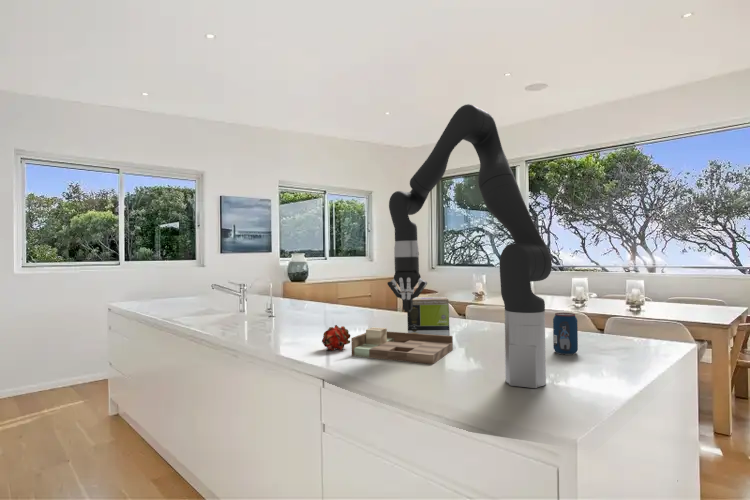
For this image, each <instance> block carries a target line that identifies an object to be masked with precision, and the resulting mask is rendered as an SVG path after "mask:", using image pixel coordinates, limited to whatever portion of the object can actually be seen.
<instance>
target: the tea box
mask: <svg viewBox="0 0 750 500" xmlns="http://www.w3.org/2000/svg"><path fill="white" fill-rule="evenodd" d="M449 303H450V302H449V299H448V297H447V296H430V297H429V296H424V297H423V296H422V297H420V296H418V297H416V298H414V299H413V309H412V310H411V312H406V314H407V317H406V318H407V333H417V334H432V335H446V336H451V335H450V332H451V331H450V307H449V306H450V304H449Z"/></svg>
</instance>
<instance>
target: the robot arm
mask: <svg viewBox="0 0 750 500" xmlns="http://www.w3.org/2000/svg"><path fill="white" fill-rule="evenodd" d="M462 141H466V142H468V143H470V144H472V146H473V148H474V150H475V152H476V155H477V157H478V160H479V169H478V170H479V171H478V179H477V182H478V189H479V192H480V193H481V197H482V199H483V202H484V204H485V206H486V209H488V211H489V212H490V213H491V214H492V215H493V217H495V218H496V220H497V221H498V222H500V224H502V225H503V227H504V228H505V229H506V230H507V231H508V233H509V234H510V235H511V237H512V239H513V242H514V243H511V244H508V245H507V246H505V247H504V248H503V250H502V252H501V254H500V258H499V278H500V293H501V298H502V300H503V301H502V302H503V304H504V358H505V359H504V364H505V366H504V367H505V369H504V370H505V372H504V373H505V382H506V383H507V384H508V385H509V386H512V387H523V388H529V389H530V388H531V389H538V388H539V387H543V386H545V385H547V370H546V369H547V364H546V360H547V359H546V303H545V300H544V298H542V297H541V296H538V295H537V294H535V293H534V292H533V290H532V285H531V282H532V283H533V282H540V281H544V280H546V279H547V278H549V276H550V274H551V272H552V267H553V266H552V263H553V262H552V257H551V256H552V255H551V254H550V251H549V249H548V247H547V245H546V243H545V242H544V240H543V238H542V236H541V234H540V233H539V231H538V228H537V226H536V224H535V223H534V221H533V219H532V217H531V213H530V211H529V210H528V208H527V205H526V203H525V200H524V198H523V196H522V192H521V189H520V187H519V184H518V182H517V180H516V178H515V175H514V172H513V171H512V168H511V165H510V164H509V161H508V158H507V156H506V154H505V152H504V151H505V150H504V149H503V146H502V141H501V138H500V136H499V131H498V127H497V123H496V121H495V119H494V117H493V116H492V114H490V113H489V112H487V111H486V110H484V109H482V108H480V107H477V106H475V105H474V104H470V103H468V104H463V105H462V106H460V107H459V108H458V109H457V110H456V111H455V113H454V114H453V115H452V117H451V118H450V120H449V121H448V123H447V125H446V127H445V128H444V130H443V131H442V134H441V135H440V137H439V138H438V139H437V141H436V143H435V145H434V147H433V149H432V151H431V153H430V154H429V155H428V156H427V158H426V159H425V161H424V162H423V163H422V164H421V166H420V167H419V168H418V169H417V171H416V172H415V173H414V174H413V176H411V178H410V180H409V186H410V188H411V190H410V191H402V190H398V191H395V192H393V193H392V194H391V196H390V197H389V201H388V209H389V213H390V217H391V221H392V224H393V227H394V228H393V229H394V247H393V248H394V251H393V252H394V255H393V256H394V275H393V279H391V280H390V281H388V282H386V283H387V286H388V287H389V288H390V290H391V291H392V293H393V294H394V295H395V297H397V299H398V298H399V299H401V300H402V310H403V311H404V312H405V313H407V312H411V310H412V309H413V299H414V298H416V297H420V295H421V293H422V292H423V290H424V289H425V288H426V286H427V285H428V282H427V281H426V280H424V279H422V278H421V274H420V257H419V256H420V253H419V242H418V226H417V224H416V223H415V222H413V221H412V220H411V219H410V216H413V215H415V214H417V213H419V212H420V211H421V210H422V208H423V206H424V204H425V203H426V200H427V199H428V197H429V194H430V192H431V191H432V190H433V189H434V188H435V187H436V186H437V185H438V183H439V182H441V180H442V178H443V177H444V175H445V173H446V171H447V170H446V169H447V166H448V164H449V163H448V162H449V159H450V156H451V154H452V152H453V150H454V149H455V148H456V147H457V146H458V145H459V144H460V143H461V142H462ZM397 285H398V286H397ZM416 286H417V287H416ZM415 287H416V289H415ZM399 288H400V289H399Z"/></svg>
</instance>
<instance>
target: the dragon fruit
mask: <svg viewBox="0 0 750 500" xmlns="http://www.w3.org/2000/svg"><path fill="white" fill-rule="evenodd" d="M322 336H323V337H322V340H321V343H322V344H323V346H324V347H326V348H327V349H326V351H327V352H333V351H335V350H337V349H338V350H339V351H342V350H343V349H344V348H345V345H349V344H350V343H351V340H349V339H351V334H350V333H349V330H348V328H346V327H345V326H344V325H342V326H341V327H339V326H338V325H337V324H335V325H334V327H333V326H331V327H329V328H328V329H327V330H326V331H324V333H323V335H322Z"/></svg>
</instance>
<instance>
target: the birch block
mask: <svg viewBox="0 0 750 500" xmlns="http://www.w3.org/2000/svg"><path fill="white" fill-rule="evenodd" d="M387 330H388V328H387V327H375V326H374V327H373V326H372V327H370V328H366V330H365V333H366V344H374V345H382V344H384V343H386V342H387Z"/></svg>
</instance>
